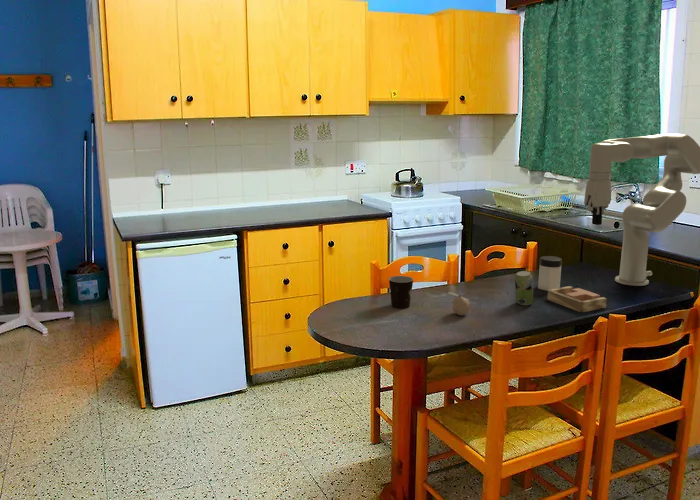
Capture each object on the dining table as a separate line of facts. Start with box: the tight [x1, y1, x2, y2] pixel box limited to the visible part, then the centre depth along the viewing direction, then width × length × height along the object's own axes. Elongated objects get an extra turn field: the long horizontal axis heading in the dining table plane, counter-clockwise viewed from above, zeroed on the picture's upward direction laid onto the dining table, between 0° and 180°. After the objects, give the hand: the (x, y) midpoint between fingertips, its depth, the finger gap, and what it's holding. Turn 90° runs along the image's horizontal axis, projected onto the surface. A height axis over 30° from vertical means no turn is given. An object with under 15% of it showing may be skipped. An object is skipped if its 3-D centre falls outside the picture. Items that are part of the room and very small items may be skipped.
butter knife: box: [447, 291, 470, 301], centre depth 236 cm, size 1×24×3 cm
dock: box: [546, 285, 608, 313], centre depth 232 cm, size 12×17×4 cm
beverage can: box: [514, 270, 534, 306], centre depth 231 cm, size 6×7×12 cm
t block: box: [565, 287, 601, 301], centre depth 233 cm, size 10×10×4 cm
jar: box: [537, 255, 563, 292], centre depth 250 cm, size 9×8×12 cm
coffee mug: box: [388, 275, 414, 310], centre depth 228 cm, size 12×9×10 cm
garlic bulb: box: [451, 294, 471, 317], centre depth 220 cm, size 7×6×8 cm
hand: (596, 224), depth 246 cm, fingers closed
